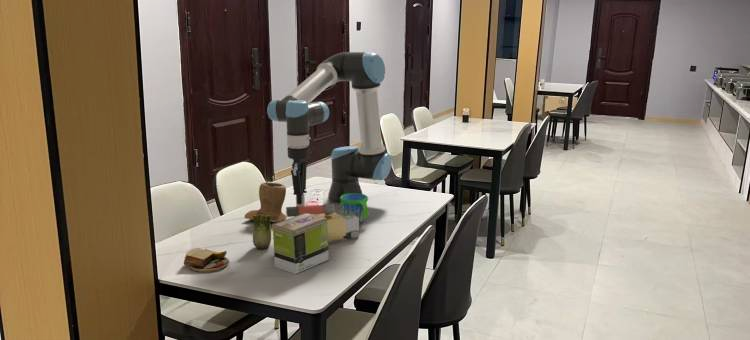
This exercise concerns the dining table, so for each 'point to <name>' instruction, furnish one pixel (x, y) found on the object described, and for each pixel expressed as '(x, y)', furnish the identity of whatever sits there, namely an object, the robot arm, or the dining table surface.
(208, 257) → the toy sandwich meal
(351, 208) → the snack cup
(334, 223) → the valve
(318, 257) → the tea box
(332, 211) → the lever
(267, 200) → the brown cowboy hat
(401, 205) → the dining table surface
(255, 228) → the fennel bulb
